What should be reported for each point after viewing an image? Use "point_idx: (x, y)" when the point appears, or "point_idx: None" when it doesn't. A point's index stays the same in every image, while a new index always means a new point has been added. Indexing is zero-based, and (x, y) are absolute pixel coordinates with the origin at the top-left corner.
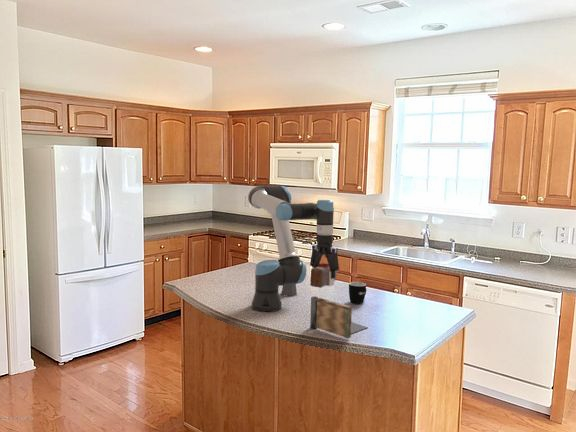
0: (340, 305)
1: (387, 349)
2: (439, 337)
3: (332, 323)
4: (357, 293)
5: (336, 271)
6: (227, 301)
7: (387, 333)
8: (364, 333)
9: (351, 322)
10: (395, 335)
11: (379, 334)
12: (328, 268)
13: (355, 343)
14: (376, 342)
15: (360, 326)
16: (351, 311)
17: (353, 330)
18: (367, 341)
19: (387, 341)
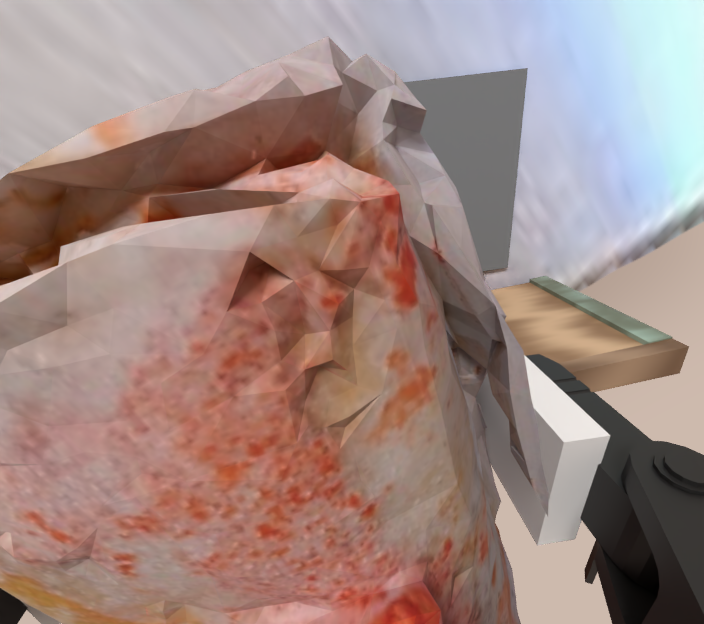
0: (614, 386)
1: (698, 220)
2: None
3: None
4: None
5: (404, 111)
6: None
7: (645, 36)
8: (548, 158)
9: (413, 90)
10: (691, 21)
11: (614, 96)
12: (492, 576)
13: (573, 283)
14: (637, 200)
15: (490, 100)
16: (656, 331)
17: (498, 188)
18: (602, 226)
19: (676, 144)
